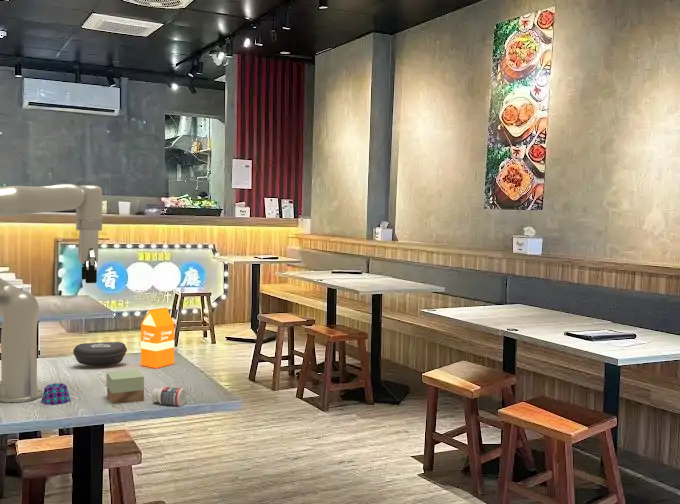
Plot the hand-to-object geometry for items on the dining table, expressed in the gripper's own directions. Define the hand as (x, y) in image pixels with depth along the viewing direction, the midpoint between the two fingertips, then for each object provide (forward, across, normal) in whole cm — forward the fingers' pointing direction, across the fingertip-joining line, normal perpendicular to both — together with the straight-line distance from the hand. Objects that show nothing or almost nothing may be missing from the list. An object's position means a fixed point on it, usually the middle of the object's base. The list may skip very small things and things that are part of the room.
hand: (89, 281), depth 221 cm
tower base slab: (+34, +18, +8) cm, 39 cm away
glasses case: (+34, -30, +7) cm, 45 cm away
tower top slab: (+30, +18, +8) cm, 36 cm away
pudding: (+34, +14, -11) cm, 38 cm away
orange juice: (+34, -23, +26) cm, 48 cm away
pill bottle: (+31, +31, +22) cm, 49 cm away
